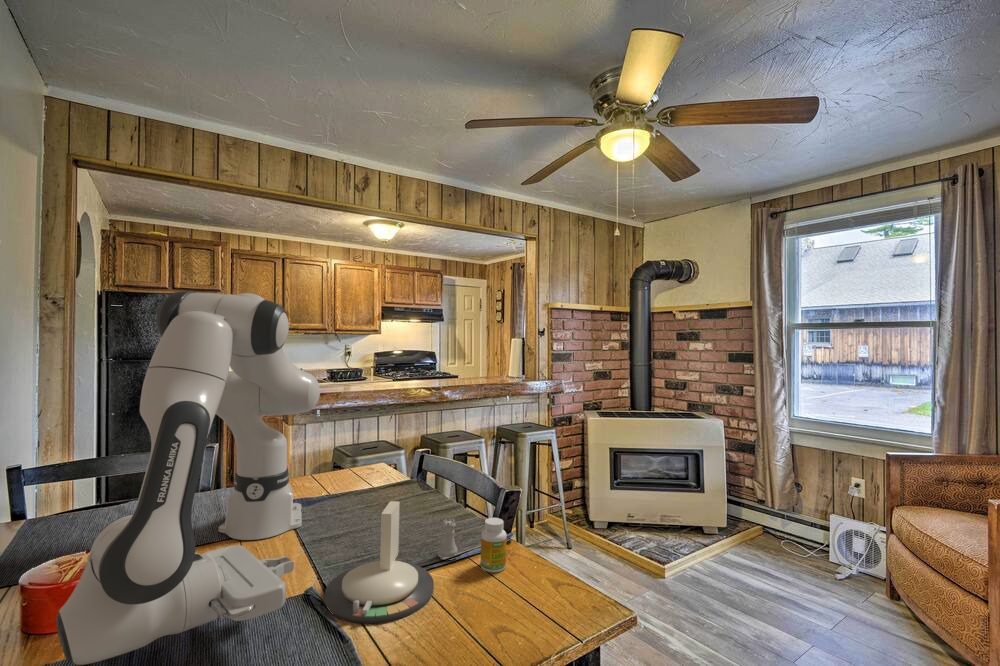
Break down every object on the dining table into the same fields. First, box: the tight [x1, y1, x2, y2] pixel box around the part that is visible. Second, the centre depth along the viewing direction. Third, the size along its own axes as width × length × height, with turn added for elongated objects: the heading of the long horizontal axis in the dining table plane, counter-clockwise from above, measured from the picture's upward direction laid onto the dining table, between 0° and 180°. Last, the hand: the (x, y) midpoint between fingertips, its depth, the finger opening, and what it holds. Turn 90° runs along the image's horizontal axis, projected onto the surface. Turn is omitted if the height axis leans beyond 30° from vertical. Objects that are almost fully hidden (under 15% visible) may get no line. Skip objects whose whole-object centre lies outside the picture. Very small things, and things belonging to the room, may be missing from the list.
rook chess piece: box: [437, 518, 459, 557], centre depth 104 cm, size 4×4×8 cm
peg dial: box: [342, 500, 418, 614], centre depth 89 cm, size 20×14×12 cm
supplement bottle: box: [480, 517, 508, 573], centre depth 100 cm, size 5×5×10 cm
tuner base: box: [323, 561, 435, 625], centre depth 89 cm, size 20×20×3 cm
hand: (290, 563), depth 83 cm, fingers closed
